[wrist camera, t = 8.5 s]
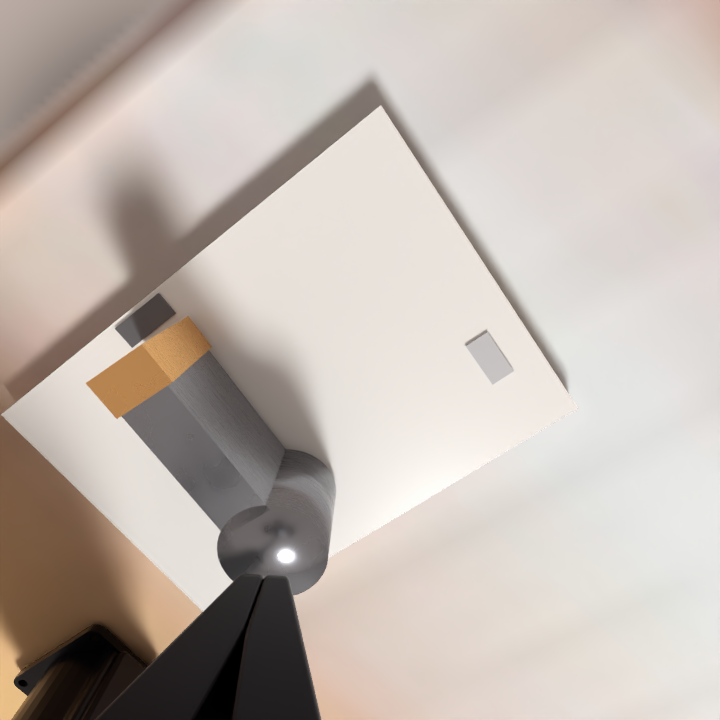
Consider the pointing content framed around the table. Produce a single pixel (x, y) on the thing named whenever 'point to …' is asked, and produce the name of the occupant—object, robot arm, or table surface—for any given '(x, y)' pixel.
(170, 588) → the table surface
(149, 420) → the lock lever
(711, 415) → the table surface
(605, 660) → the table surface
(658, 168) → the table surface
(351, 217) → the base
